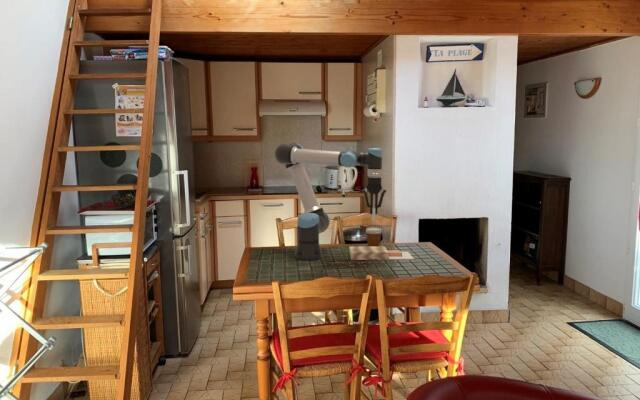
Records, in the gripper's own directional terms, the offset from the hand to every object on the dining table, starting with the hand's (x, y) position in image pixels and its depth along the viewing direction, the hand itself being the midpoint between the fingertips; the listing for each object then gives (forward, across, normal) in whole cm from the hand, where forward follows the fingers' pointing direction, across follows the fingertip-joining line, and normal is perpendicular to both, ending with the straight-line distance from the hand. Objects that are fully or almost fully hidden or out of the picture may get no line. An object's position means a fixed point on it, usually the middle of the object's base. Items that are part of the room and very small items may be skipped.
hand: (373, 219), depth 262 cm
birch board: (+20, -2, 0) cm, 21 cm away
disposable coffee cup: (+21, +3, +17) cm, 27 cm away
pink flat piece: (+20, +12, 0) cm, 23 cm away
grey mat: (+20, +15, 0) cm, 25 cm away
